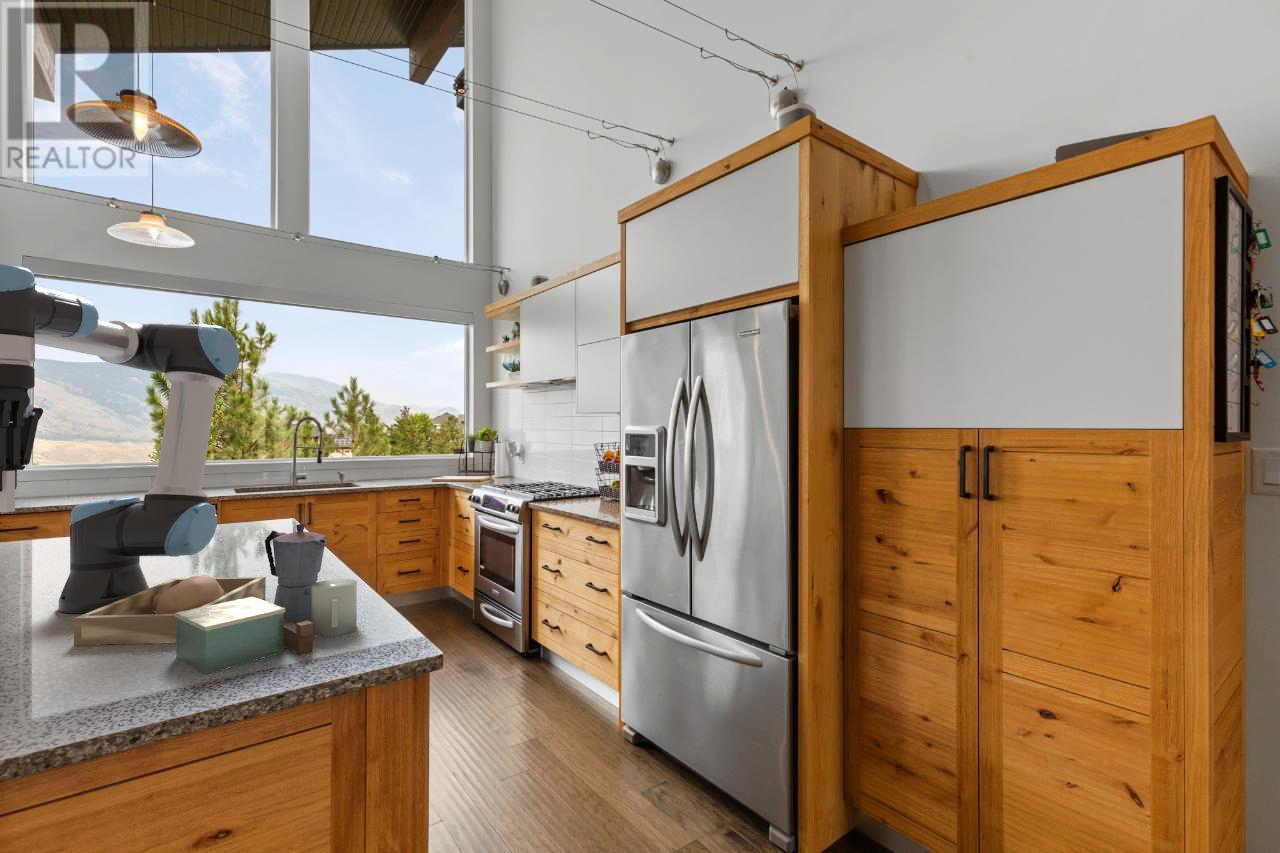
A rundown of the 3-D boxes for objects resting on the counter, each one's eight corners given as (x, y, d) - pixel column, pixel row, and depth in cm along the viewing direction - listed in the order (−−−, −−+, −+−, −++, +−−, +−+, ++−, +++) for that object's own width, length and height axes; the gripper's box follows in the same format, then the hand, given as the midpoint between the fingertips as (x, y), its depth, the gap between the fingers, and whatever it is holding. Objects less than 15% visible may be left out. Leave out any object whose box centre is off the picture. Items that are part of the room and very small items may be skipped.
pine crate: (174, 600, 138) (174, 578, 138) (265, 598, 140) (265, 576, 140) (73, 645, 110) (74, 618, 110) (190, 642, 112) (190, 615, 112)
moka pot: (309, 631, 119) (310, 529, 119) (242, 625, 122) (243, 525, 122) (342, 616, 128) (343, 521, 128) (279, 611, 131) (280, 518, 131)
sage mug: (311, 626, 122) (312, 581, 122) (355, 620, 126) (356, 577, 126) (310, 642, 113) (310, 594, 113) (357, 636, 117) (358, 589, 117)
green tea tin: (174, 659, 105) (175, 612, 105) (252, 638, 115) (252, 596, 115) (204, 676, 98) (205, 626, 98) (284, 653, 108) (285, 608, 108)
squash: (179, 635, 116) (164, 590, 115) (137, 631, 126) (123, 590, 125) (239, 609, 125) (226, 567, 124) (195, 607, 135) (183, 569, 135)
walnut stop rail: (255, 630, 119) (255, 604, 119) (266, 628, 120) (266, 601, 120) (300, 655, 107) (301, 625, 107) (312, 652, 108) (312, 623, 108)
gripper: (11, 366, 103) (11, 506, 103) (-68, 358, 90) (-68, 518, 90) (61, 367, 103) (61, 505, 104) (-11, 360, 91) (-11, 518, 91)
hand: (1, 511), depth 97 cm, fingers closed
